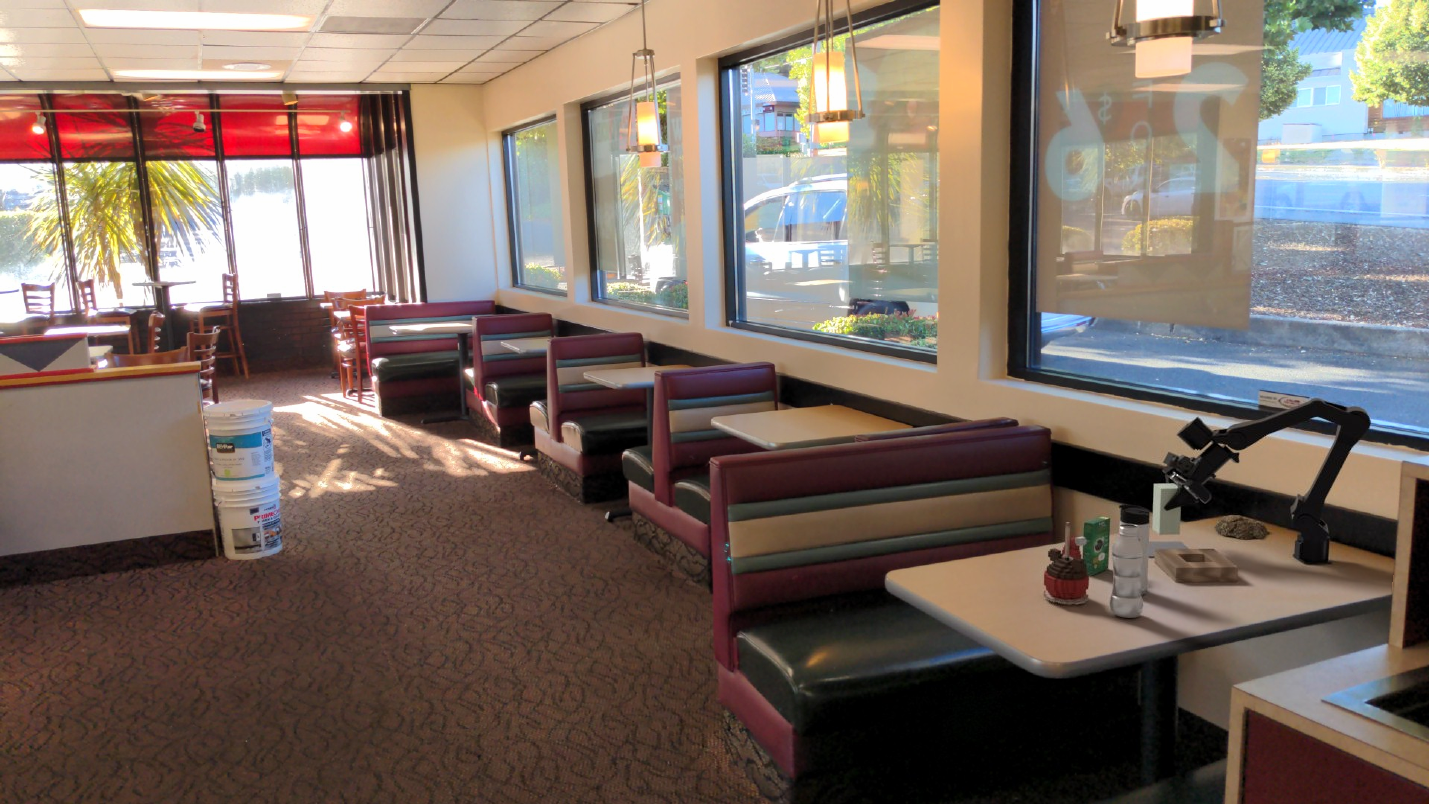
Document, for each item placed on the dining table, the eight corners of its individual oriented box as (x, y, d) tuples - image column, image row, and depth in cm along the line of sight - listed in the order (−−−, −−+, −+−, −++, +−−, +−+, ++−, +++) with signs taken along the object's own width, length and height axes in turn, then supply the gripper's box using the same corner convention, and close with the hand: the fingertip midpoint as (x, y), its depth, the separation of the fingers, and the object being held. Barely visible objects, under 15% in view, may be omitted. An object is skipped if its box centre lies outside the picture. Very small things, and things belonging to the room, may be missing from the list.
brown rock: (1219, 524, 285) (1220, 507, 284) (1269, 531, 278) (1270, 513, 277) (1209, 536, 275) (1210, 518, 274) (1261, 543, 268) (1262, 525, 267)
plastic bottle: (1145, 622, 218) (1149, 531, 214) (1111, 620, 219) (1114, 530, 216) (1139, 611, 224) (1143, 522, 221) (1106, 609, 225) (1109, 521, 222)
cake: (1033, 595, 235) (1034, 519, 232) (1065, 589, 239) (1067, 514, 236) (1066, 611, 225) (1068, 531, 222) (1099, 603, 229) (1101, 525, 226)
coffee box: (1098, 566, 253) (1100, 514, 251) (1109, 569, 251) (1111, 516, 249) (1080, 573, 248) (1082, 521, 246) (1091, 576, 246) (1093, 523, 244)
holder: (1212, 562, 254) (1213, 548, 253) (1237, 581, 240) (1238, 567, 239) (1154, 562, 255) (1154, 549, 254) (1175, 582, 241) (1176, 567, 240)
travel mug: (1123, 584, 240) (1126, 501, 237) (1151, 591, 236) (1155, 506, 232) (1111, 591, 236) (1114, 507, 233) (1139, 598, 231) (1143, 512, 228)
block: (1172, 528, 265) (1174, 483, 263) (1179, 534, 260) (1181, 488, 258) (1152, 529, 266) (1153, 483, 264) (1159, 534, 261) (1160, 488, 259)
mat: (1179, 542, 269) (1179, 541, 269) (1198, 557, 258) (1198, 555, 258) (1132, 543, 270) (1132, 541, 270) (1148, 557, 258) (1148, 556, 258)
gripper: (1171, 434, 268) (1126, 476, 271) (1200, 449, 250) (1151, 494, 252) (1201, 463, 269) (1156, 505, 271) (1232, 480, 251) (1183, 525, 253)
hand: (1161, 506), depth 262 cm, fingers closed on block, 5 cm apart
